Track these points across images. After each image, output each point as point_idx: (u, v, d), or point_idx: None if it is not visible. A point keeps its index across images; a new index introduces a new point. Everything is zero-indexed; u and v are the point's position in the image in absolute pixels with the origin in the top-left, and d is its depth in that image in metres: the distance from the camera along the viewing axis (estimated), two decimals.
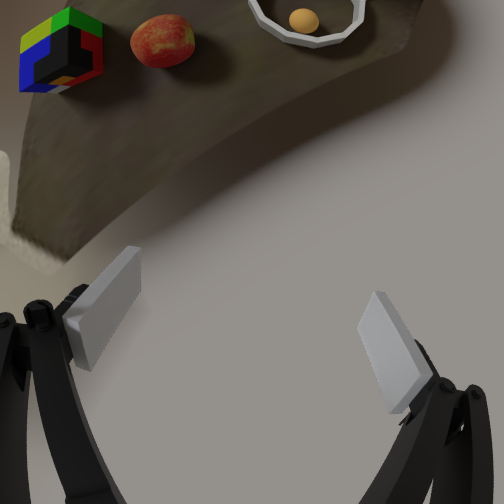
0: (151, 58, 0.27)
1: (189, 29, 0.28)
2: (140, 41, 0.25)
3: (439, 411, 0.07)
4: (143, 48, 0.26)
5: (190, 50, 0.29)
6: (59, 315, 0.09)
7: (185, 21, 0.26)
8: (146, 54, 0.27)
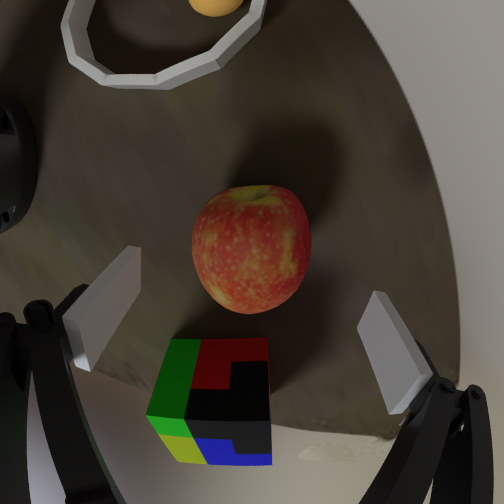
0: (301, 274, 0.17)
1: (232, 195, 0.18)
2: (261, 300, 0.17)
3: (439, 411, 0.07)
4: (279, 293, 0.17)
5: (290, 193, 0.17)
6: (59, 315, 0.09)
7: (219, 204, 0.16)
8: (292, 286, 0.17)
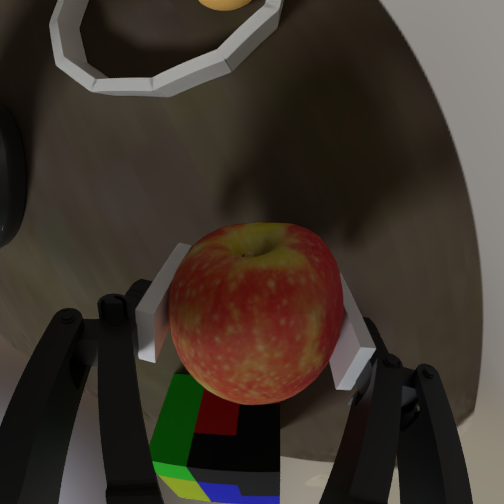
0: (327, 360, 0.11)
1: (228, 240, 0.12)
2: (269, 399, 0.11)
3: (387, 389, 0.08)
4: (295, 390, 0.11)
5: (317, 242, 0.11)
6: None
7: (204, 262, 0.10)
8: (314, 378, 0.11)
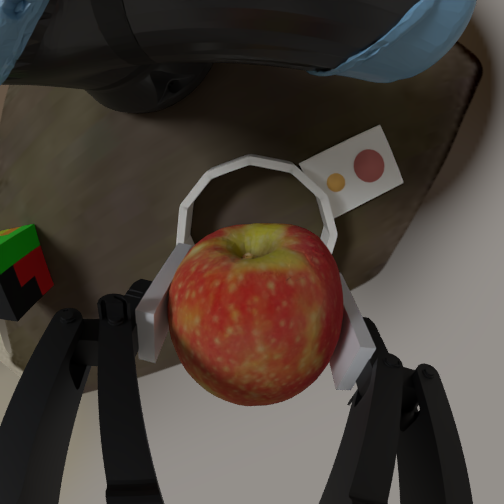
0: (327, 362, 0.11)
1: (227, 242, 0.12)
2: (268, 400, 0.11)
3: (387, 389, 0.08)
4: (295, 391, 0.11)
5: (317, 243, 0.11)
6: None
7: (204, 263, 0.10)
8: (314, 379, 0.11)
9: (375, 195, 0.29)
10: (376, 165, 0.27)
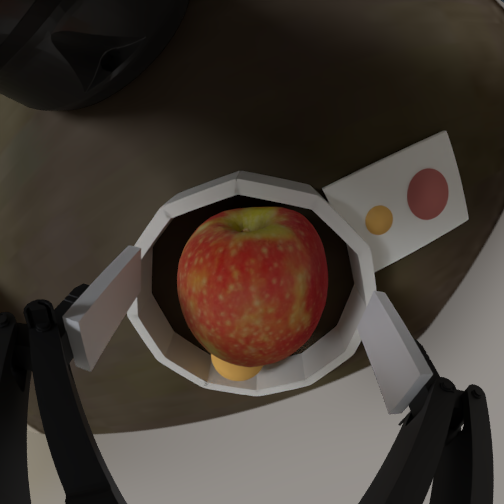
0: (315, 323, 0.13)
1: (228, 220, 0.14)
2: (264, 357, 0.13)
3: (439, 411, 0.07)
4: (287, 349, 0.13)
5: (303, 220, 0.13)
6: (59, 315, 0.09)
7: (210, 236, 0.12)
8: (304, 339, 0.13)
9: (432, 239, 0.18)
10: (438, 194, 0.16)
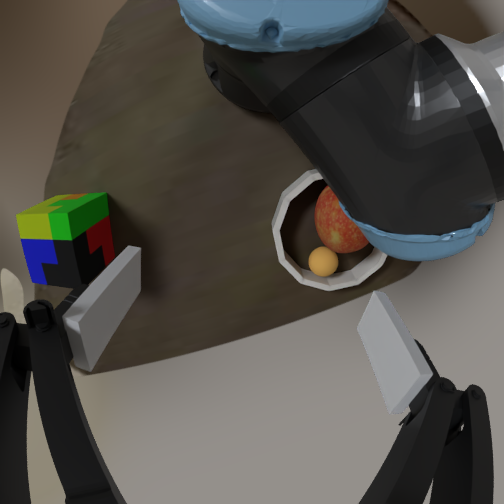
0: None
1: None
2: (357, 242, 0.30)
3: (439, 411, 0.07)
4: (366, 239, 0.30)
5: None
6: (59, 315, 0.09)
7: None
8: None
9: None
10: None
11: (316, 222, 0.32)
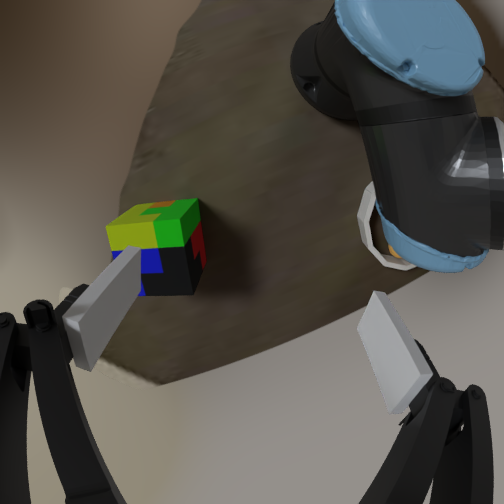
0: None
1: None
2: None
3: (439, 411, 0.07)
4: None
5: None
6: (59, 315, 0.09)
7: None
8: None
9: None
10: None
11: None
